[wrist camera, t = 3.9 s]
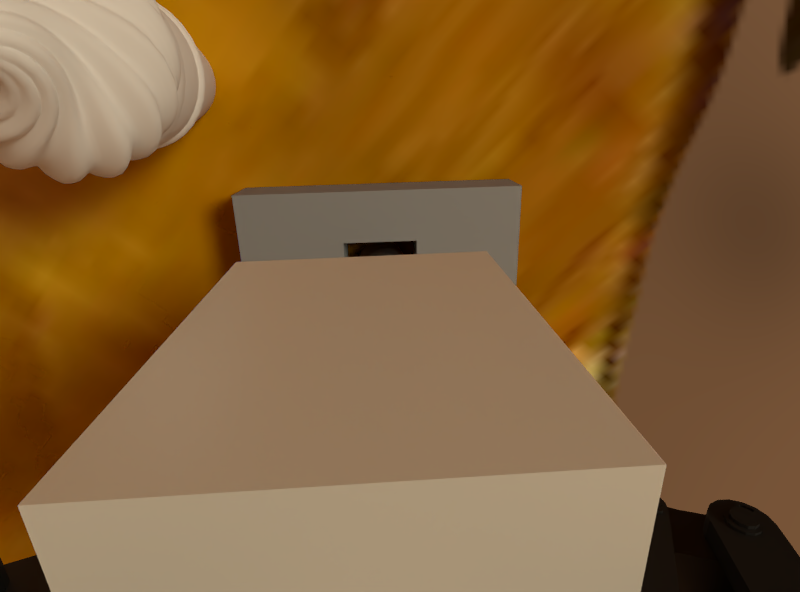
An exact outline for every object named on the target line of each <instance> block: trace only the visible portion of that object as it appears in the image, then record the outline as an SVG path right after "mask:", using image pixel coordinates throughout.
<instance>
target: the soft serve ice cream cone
mask: <svg viewBox="0 0 800 592" xmlns="http://www.w3.org/2000/svg"><path fill="white" fill-rule="evenodd" d="M215 89H216V85H215V77H214V74H213V70H212V68H211V66H210V64H209V62H208V61H207V59H206V58H205V56H204V55H203V54H202V53H201V52H200V50H199V49H198V48H197V47H196V45H195V43H194V41H193V39H192V37H191V36H190V35H189V33H188V32H187V30H186V29H185V27H184V26H183V25H182V24H181V23H180V22H179V20H178V19H177V18H176V17H175V16H174V15H173V14H172V13H171V12H169V11H168V10H167V9H165V8H164V7H162V6H161V5H160V4H158V3H157V2H156V1H155V0H0V163H1V164H2V165H4V166H5V167H8V168H11V169H20V170H23V169H26V168H30V167H33V166H38V167H39V168H40V169H41V170H42V171H43V172H44V173H45V174H46V175H48V176H49V177H51V178H52V179H54V180H56V181H58V182H61V183H63V184H72V183H76V182H79V181H81V180H82V179H83V178H84V177H85V176H86V175H87V174H88V173H91V174H93V175H95V176H100V177H104V178H113V177H116V176H118V175H120V174H123V172H124V171H125V170H126V169H127V167H128V164H129V162H130V160H138V159H142V158H145V157H149V156H150V155H151V154H152V153H153V152H154V151H155V150H156V149H157V148H162V147H165V146H167V145H169V144H172V143H174V142H176V141H177V140H179V139H180V138H181V137H183V136H184V135H185V134H186V133H187V132H188V131H189V130H190V129H191V127H192V126H193V125H194V123H195V122H196V121H197V120H198V119H199V118H200V117H202V116H203V115H204V114H205V113H206V112H207V111H208V110H209V108H210V106H211V105H212V103H213V100H214V97H215Z"/></svg>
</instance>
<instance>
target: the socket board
mask: <svg viewBox="0 0 800 592" xmlns="http://www.w3.org/2000/svg"><path fill="white" fill-rule="evenodd" d="M521 192H522V186H521V185H519V184H517V183H515V182H513V181H511V180H509V179H497V180H467V181H437V182H408V183H378V184H348V185H319V186H289V187H259V188H245V189H243V190H241V191H239V192H237V193H236V194H234V195H232V202H233V209H234V216H235V222H236V229H237V236H238V243H239V249H240V256H241V262H247V261H271V260H294V259H317V258H340V257H348V243H367V242H394V241H414V254H433V253H456V252H480V251H487V252H488V253H489V255H490V256H491V257H492V258H493V259H494V261H495V262H496V263H497V264H498V265H499V266H500V268H501V269H502V270H503V271H504V272H505V274H506V275H507V276H508V277H509V278H510V279H511V281H512V282H513V283H514V284H515V285H516V278H517V261H518V244H519V227H520V209H521Z"/></svg>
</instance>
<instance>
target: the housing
mask: <svg viewBox="0 0 800 592" xmlns="http://www.w3.org/2000/svg"><path fill="white" fill-rule="evenodd" d="M665 469H666V463H665V462H664V461H663V460H662V459H661V458H660V456H659V455H658V454H657V453H656V452H655V450H654V449H653V448H652V447H651V446H650V444H649V443H648V442H647V441H646V440H645V439H644V437H643V436H642V435H641V434H640V433H639V431H638V430H637V429H636V428H635V427H634V426H633V424H632V423H631V422H630V421H629V420H628V418H627V417H626V416H625V415H624V414H623V412H622V411H621V410H620V409H619V408H618V406H617V405H616V404H615V403H614V402H613V401H612V399H611V398H610V397H609V396H608V395H607V393H606V392H605V391H604V390H603V389H602V387H601V386H600V385H599V384H598V383H597V382H596V380H595V379H594V378H593V377H592V376H591V374H590V373H589V372H588V371H587V370H586V368H585V367H584V366H583V365H582V364H581V363H580V361H579V360H578V359H577V358H576V357H575V355H574V354H573V353H572V352H571V351H570V350H569V348H568V347H567V346H566V345H565V344H564V342H563V341H562V340H561V339H560V338H559V336H558V335H557V334H556V333H555V332H554V331H553V329H552V328H551V327H550V326H549V325H548V323H547V322H546V321H545V320H544V319H543V317H542V316H541V315H540V314H539V313H538V312H537V310H536V309H535V308H534V307H533V306H532V304H531V303H530V302H529V301H528V300H527V298H526V297H525V296H524V295H523V294H522V293H521V291H520V290H519V289H518V288H517V287H516V285H515V284H514V283H513V282H512V281H511V279H510V278H509V277H508V276H507V275H506V274H505V272H504V271H503V270H502V269H501V268H500V266H499V265H498V264H497V263H496V262H495V261H494V259H493V258H492V257H491V256H490V255H489V253H488V252H487V251H480V252H456V253H433V254H410V255H387V256H363V257H340V258H317V259H294V260H271V261H247V262H236V263H235V264H234V265H233V266H232V267H231V268H230V269H229V271H228V272H227V273H226V274H225V275H224V276H223V277H222V278H221V279H220V281H219V282H218V283H217V284H216V285H215V286H214V287H213V288H212V289H211V291H210V292H209V293H208V294H207V295H206V296H205V297H204V298H203V299H202V301H201V302H200V303H199V304H198V305H197V306H196V307H195V308H194V310H193V311H192V312H191V313H190V314H189V315H188V316H187V317H186V318H185V320H184V321H183V322H182V323H181V324H180V325H179V326H178V327H177V328H176V330H175V331H174V332H173V333H172V334H171V335H170V336H169V337H168V338H167V340H166V341H165V342H164V343H163V344H162V345H161V346H160V347H159V349H158V350H157V351H156V352H155V353H154V354H153V355H152V356H151V357H150V359H149V360H148V361H147V362H146V363H145V364H144V365H143V366H142V367H141V369H140V370H139V371H138V372H137V373H136V374H135V375H134V376H133V377H132V379H131V380H130V381H129V382H128V383H127V384H126V385H125V386H124V388H123V389H122V390H121V391H120V392H119V393H118V394H117V395H116V396H115V398H114V399H113V400H112V401H111V402H110V403H109V404H108V405H107V406H106V408H105V409H104V410H103V411H102V412H101V413H100V414H99V415H98V416H97V418H96V419H95V420H94V421H93V422H92V423H91V424H90V425H89V427H88V428H87V429H86V430H85V431H84V432H83V433H82V434H81V435H80V437H79V438H78V439H77V440H76V441H75V442H74V443H73V444H72V445H71V447H70V448H69V449H68V450H67V451H66V452H65V453H64V454H63V455H62V457H61V458H60V459H59V460H58V461H57V462H56V463H55V464H54V466H53V467H52V468H51V469H50V470H49V471H48V472H47V473H46V474H45V476H44V477H43V478H42V479H41V480H40V481H39V482H38V483H37V484H36V486H35V487H34V488H33V489H32V490H31V491H30V492H29V493H28V494H27V496H26V497H25V498H24V499H23V500H22V501H21V502H20V503H19V505H18V508H19V511H20V514H21V516H22V519H23V521H24V524H25V526H26V529H27V532H28V534H29V537H30V539H31V542H32V544H33V547H34V550H35V552H36V555H37V557H38V560H39V562H40V565H41V567H42V570H43V573H44V575H45V578H46V580H47V583H48V585H49V588H50V591H51V592H641V588H642V583H643V578H644V573H645V568H646V563H647V558H648V553H649V548H650V543H651V538H652V533H653V528H654V523H655V518H656V514H657V509H658V504H659V499H660V493H661V489H662V484H663V479H664V474H665Z"/></svg>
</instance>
